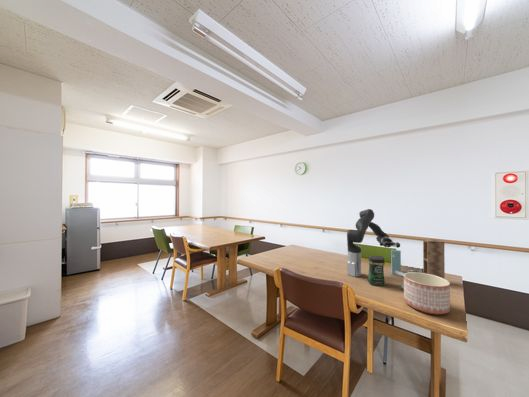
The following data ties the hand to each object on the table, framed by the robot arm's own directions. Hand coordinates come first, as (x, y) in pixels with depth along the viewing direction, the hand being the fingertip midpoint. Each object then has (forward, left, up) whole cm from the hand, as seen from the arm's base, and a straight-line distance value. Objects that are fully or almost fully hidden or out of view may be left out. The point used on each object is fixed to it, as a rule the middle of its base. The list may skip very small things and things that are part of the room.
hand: (391, 246), depth 167 cm
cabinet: (-3, -21, -19) cm, 28 cm away
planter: (-47, -36, -19) cm, 62 cm away
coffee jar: (-38, -6, -19) cm, 42 cm away
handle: (-29, -27, -19) cm, 44 cm away
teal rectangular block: (-9, -7, -19) cm, 22 cm away
